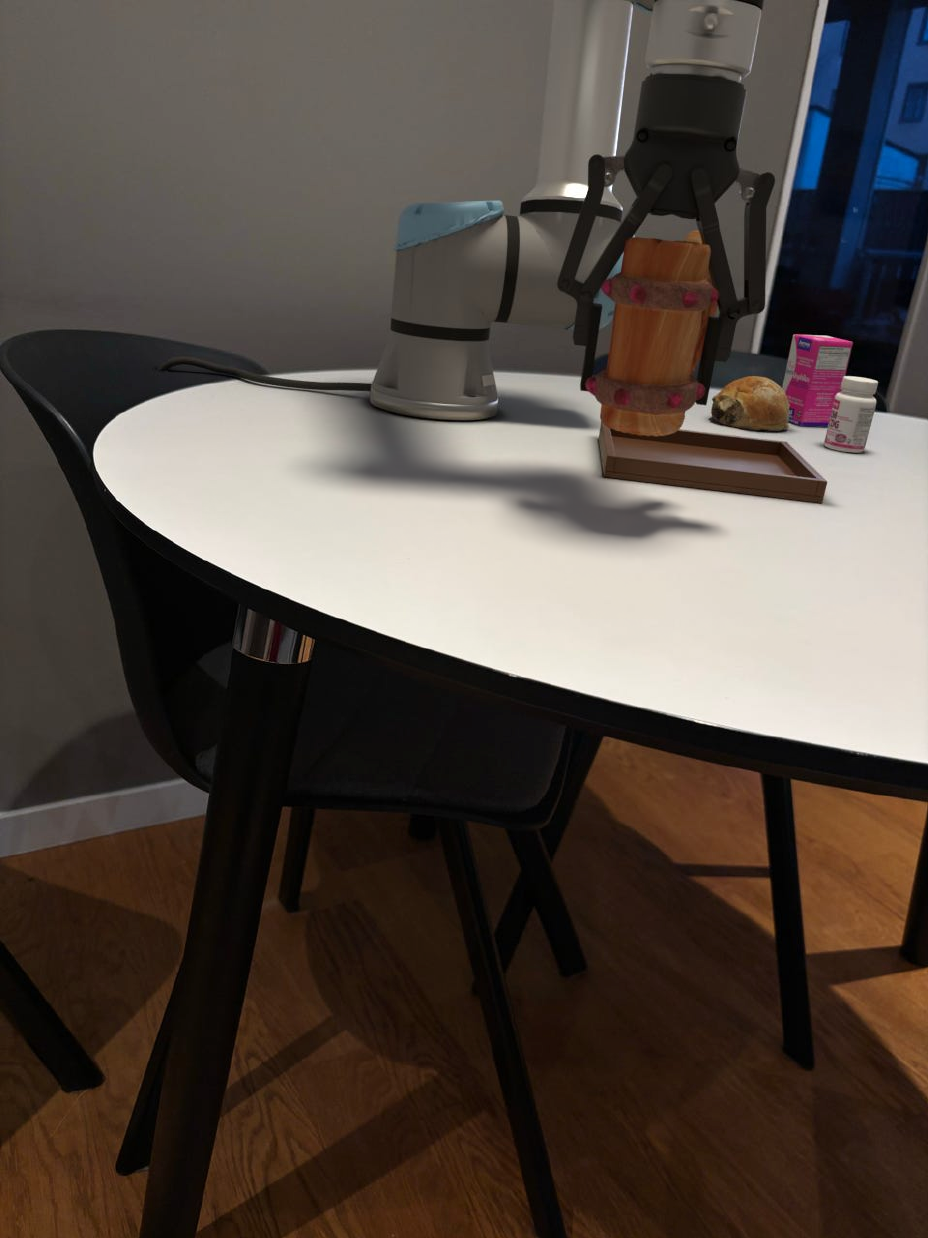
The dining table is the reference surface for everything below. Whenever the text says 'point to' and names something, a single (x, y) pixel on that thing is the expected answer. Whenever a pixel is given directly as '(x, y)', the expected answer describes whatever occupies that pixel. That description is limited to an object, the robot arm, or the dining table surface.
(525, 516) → the dining table surface
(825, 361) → the supplement box
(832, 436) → the pill bottle
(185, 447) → the dining table surface
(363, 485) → the dining table surface
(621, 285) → the mug
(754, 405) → the bread roll
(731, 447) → the tray
